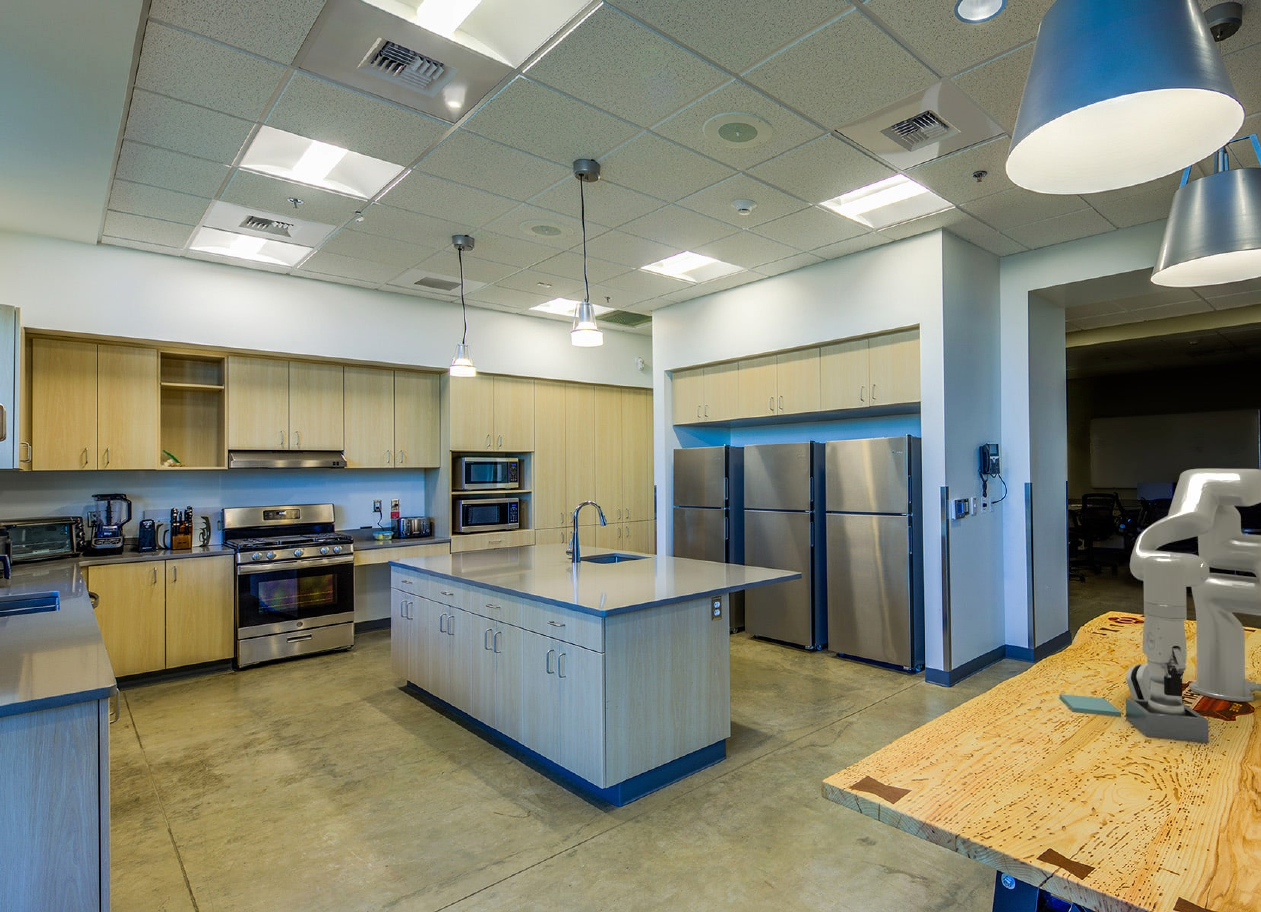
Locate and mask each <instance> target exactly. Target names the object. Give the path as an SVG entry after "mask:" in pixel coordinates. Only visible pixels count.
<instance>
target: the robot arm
mask: <svg viewBox="0 0 1261 912" xmlns="http://www.w3.org/2000/svg"><path fill="white" fill-rule="evenodd" d="M1260 503H1261V469H1257V468H1194V469H1187V470H1185V471H1183V472H1181V473H1180V475H1179V479H1178V482H1177V484H1176V488H1175V491H1174V494H1173V498H1172V501H1171V504H1170V507H1169V509H1168V514H1167V516H1164V517H1163V518H1161V519H1159V520H1157V521H1155V522H1153V523H1152V524H1151V525H1149V526H1148V527H1147V528H1145V529H1144V530H1143V531H1142V532H1141V533H1140V534H1139V535H1138V536H1137V538H1136V540H1135V543H1134V546H1133V549H1132V552H1131V555H1130V562H1129V568H1130V573H1131V574H1132V575H1133V577H1134V578H1136V579H1137V580H1139V581H1142V582H1143V616H1144V619H1143V620H1144V621H1143V627H1142V653H1143V654H1144V655H1146V656H1147V653H1148V651H1151V652H1152V654H1153V656H1154V660H1155V661H1156V662H1158V663H1160V664H1164V667H1165V673H1166V677H1164V694H1165V695H1168V696H1182V697H1183V680H1184V673H1185V670H1186V669H1187V665H1186V664H1187V636H1186V629H1185V621H1187V620H1188V619H1187V618H1188V617H1187V616H1188V615H1187V587H1188V588H1189V587H1190V588H1191V594H1192V599H1193V602H1194V608H1195V619H1196V681H1192V682H1190V683H1189V684H1188V685H1189V687H1188V688H1189V690H1191V691H1192V692H1195V693H1196V694H1200V695H1202V696H1206V697H1208V698H1213V699H1217V700H1223V701H1231V702H1245V703H1246V702H1251V701H1253V700H1254V694H1253V692H1255V691H1258V692H1261V683H1257V682H1256V681H1250V680H1249V679H1246V642H1245V641H1246V640H1245V639H1246V634H1245V628H1244V627H1243V624H1242V623H1241V622H1240V620H1239V619H1238V618H1237V617H1236V616H1235V615H1234V613H1239V614H1246V615H1254V616H1261V535H1259V534H1248V533H1247V534H1244V533H1243V532H1242V526H1241V525H1242V523H1241V521H1242V519H1241V518H1242V517H1241V514H1240V512H1239V510H1238V509H1237V508H1236V507H1251V506H1256V505H1257V504H1260ZM1194 537H1197V544H1198V546H1197V547H1198V555H1197V554H1193V553H1183V552H1173V551H1162V550H1158V548H1160V547H1162V546H1164V545H1167V544H1169V543H1174V542H1178V541H1182V540H1188V539H1191V538H1194ZM1210 568H1214V569H1218V570H1219V569H1220V570H1228V571H1237V572H1238V571H1240V572H1248V573H1253V574H1254V575H1255V576H1256V577H1255V576H1244V575H1238V574H1227V573H1218V572H1210ZM1169 660H1174V661H1175V663H1168V662H1169ZM1169 666H1173V667H1175V668H1172V670H1171V671H1170V667H1169ZM1150 680H1151V679H1150ZM1150 684H1151V683H1150Z"/></svg>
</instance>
